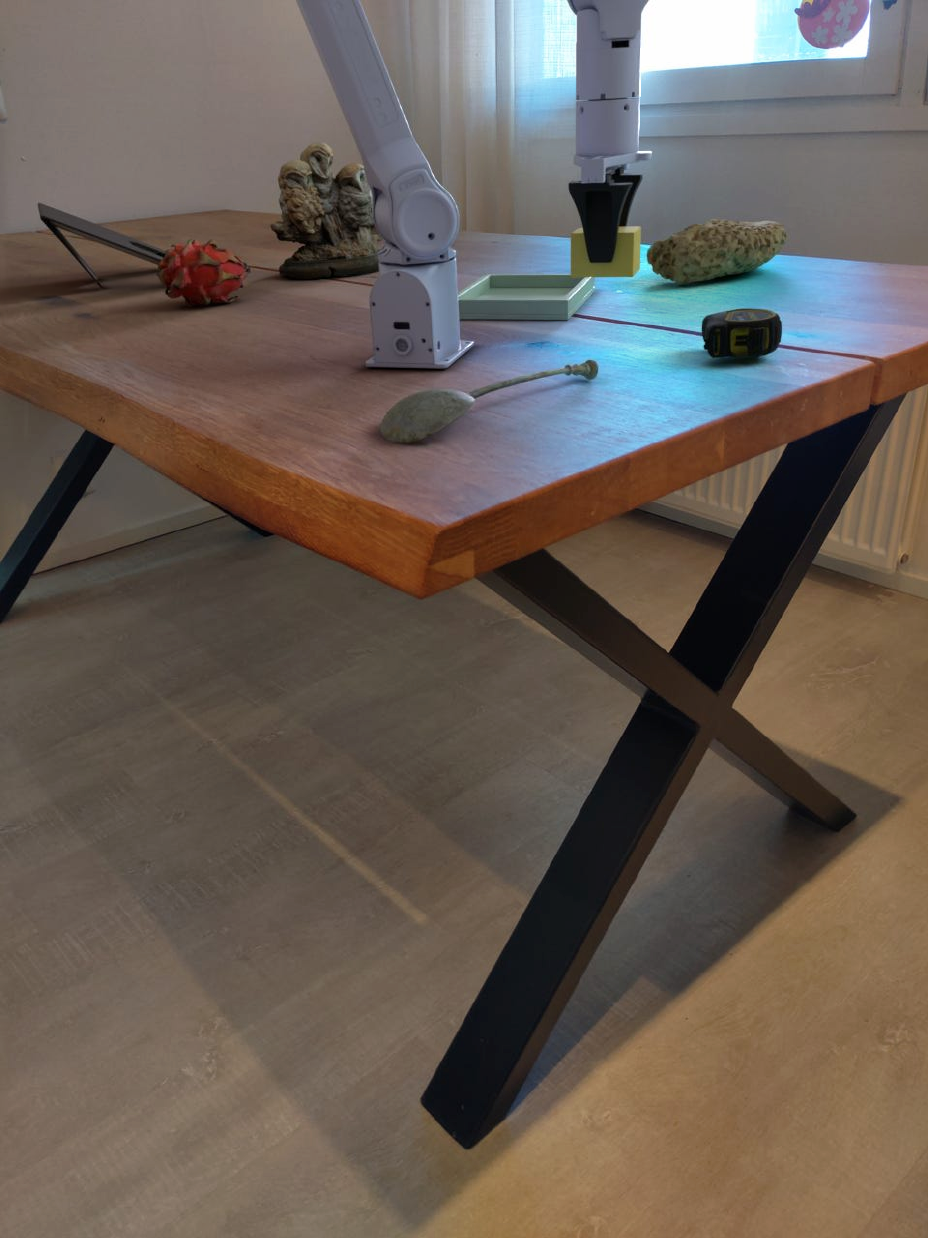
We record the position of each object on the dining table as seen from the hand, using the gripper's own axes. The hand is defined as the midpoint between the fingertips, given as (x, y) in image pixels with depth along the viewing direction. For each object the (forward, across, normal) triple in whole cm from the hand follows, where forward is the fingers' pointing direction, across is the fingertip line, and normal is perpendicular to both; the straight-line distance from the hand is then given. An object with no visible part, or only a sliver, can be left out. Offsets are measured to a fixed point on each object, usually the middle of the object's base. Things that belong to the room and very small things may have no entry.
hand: (605, 258), depth 97 cm
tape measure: (+8, -8, -13) cm, 17 cm away
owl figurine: (+8, +39, +46) cm, 61 cm away
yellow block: (+1, 0, 0) cm, 1 cm away
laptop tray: (+8, +32, +75) cm, 82 cm away
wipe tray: (+7, +16, +12) cm, 21 cm away
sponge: (+8, +36, -9) cm, 38 cm away
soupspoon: (+8, -26, +4) cm, 27 cm away
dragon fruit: (+8, +15, +53) cm, 56 cm away
